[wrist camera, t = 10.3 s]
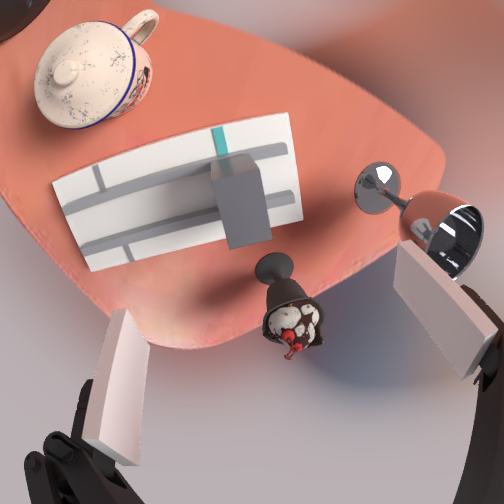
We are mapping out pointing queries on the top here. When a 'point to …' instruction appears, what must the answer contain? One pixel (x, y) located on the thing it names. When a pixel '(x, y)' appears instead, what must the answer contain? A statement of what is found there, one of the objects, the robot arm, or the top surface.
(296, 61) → the top surface
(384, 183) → the wine glass
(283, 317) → the sundae
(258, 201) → the fader tab
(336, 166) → the top surface
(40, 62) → the teacup with lid
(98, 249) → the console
